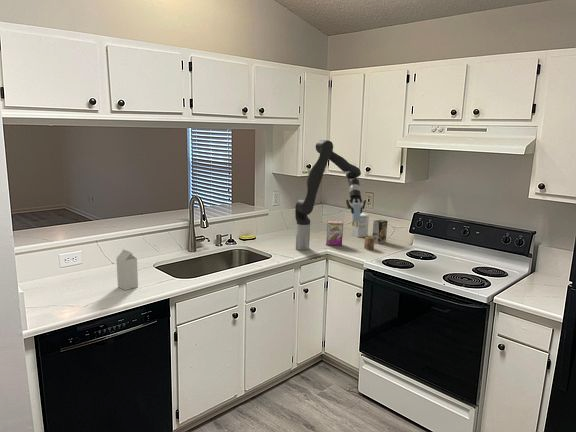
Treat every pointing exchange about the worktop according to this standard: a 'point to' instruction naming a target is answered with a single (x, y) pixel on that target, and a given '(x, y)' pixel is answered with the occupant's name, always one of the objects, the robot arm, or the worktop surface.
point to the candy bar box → (334, 233)
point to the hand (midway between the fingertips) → (356, 213)
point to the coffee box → (379, 231)
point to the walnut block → (369, 243)
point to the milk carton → (127, 270)
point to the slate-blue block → (356, 212)
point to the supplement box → (360, 226)
